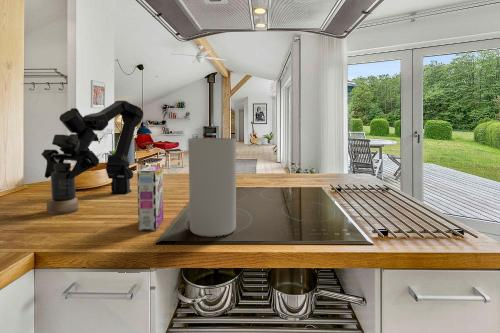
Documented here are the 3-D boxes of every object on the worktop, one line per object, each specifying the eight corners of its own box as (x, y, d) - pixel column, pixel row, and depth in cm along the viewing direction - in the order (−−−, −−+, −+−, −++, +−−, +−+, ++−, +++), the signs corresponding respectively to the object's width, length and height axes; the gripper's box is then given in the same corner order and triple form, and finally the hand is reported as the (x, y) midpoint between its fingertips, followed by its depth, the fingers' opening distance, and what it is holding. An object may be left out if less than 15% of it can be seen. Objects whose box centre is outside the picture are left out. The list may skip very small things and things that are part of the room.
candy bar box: (157, 231, 85) (155, 171, 83) (138, 231, 85) (135, 171, 83) (164, 219, 96) (163, 166, 94) (148, 219, 96) (146, 166, 94)
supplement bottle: (79, 197, 108) (78, 162, 106) (69, 201, 101) (67, 164, 100) (58, 196, 107) (57, 161, 106) (46, 201, 101) (45, 163, 99)
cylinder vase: (236, 237, 81) (236, 139, 78) (187, 238, 80) (185, 139, 77) (235, 222, 93) (235, 138, 90) (192, 223, 92) (191, 137, 89)
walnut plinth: (82, 207, 110) (81, 196, 109) (73, 214, 101) (72, 202, 100) (53, 209, 108) (52, 197, 107) (42, 216, 99) (41, 203, 99)
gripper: (44, 125, 107) (16, 161, 98) (91, 126, 103) (66, 163, 93) (64, 147, 115) (40, 182, 106) (108, 148, 111) (87, 184, 102)
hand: (57, 177), depth 102 cm, fingers open, 9 cm apart
